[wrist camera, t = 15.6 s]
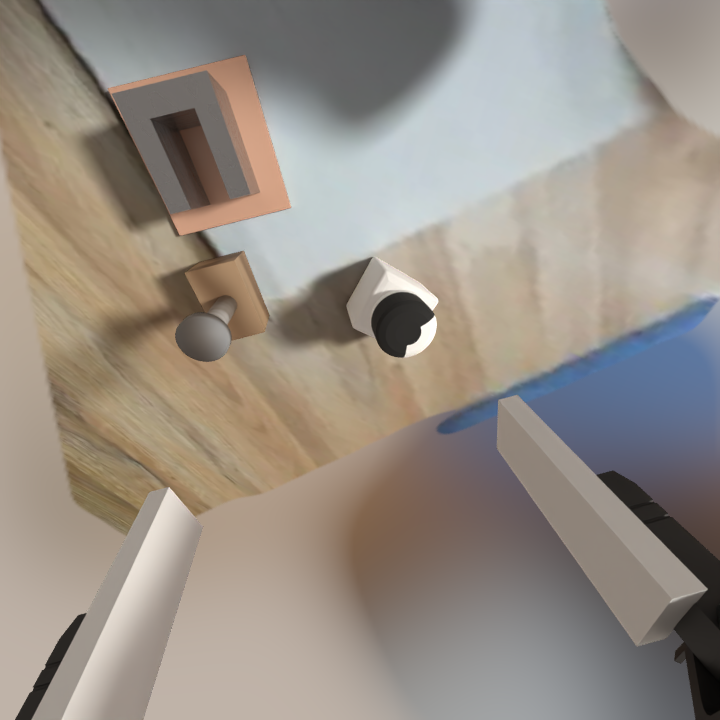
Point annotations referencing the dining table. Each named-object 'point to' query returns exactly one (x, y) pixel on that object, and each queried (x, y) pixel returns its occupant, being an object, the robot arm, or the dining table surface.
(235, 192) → the c link
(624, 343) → the dining table surface
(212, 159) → the tile
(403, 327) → the medicine bottle
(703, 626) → the robot arm
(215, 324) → the knob on wooden block
